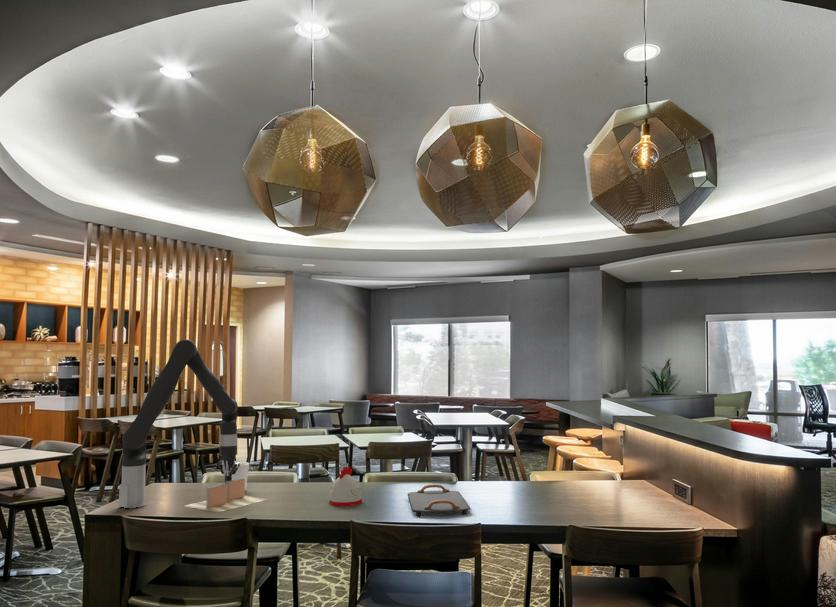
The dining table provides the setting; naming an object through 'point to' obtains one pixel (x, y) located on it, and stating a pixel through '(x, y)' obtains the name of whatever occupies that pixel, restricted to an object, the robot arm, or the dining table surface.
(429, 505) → the serving board
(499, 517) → the dining table surface
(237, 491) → the far tile
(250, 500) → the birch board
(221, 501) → the near tile
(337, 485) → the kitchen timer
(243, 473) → the foam cup
